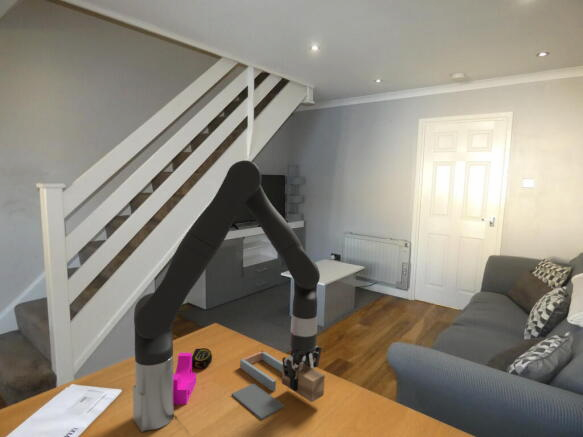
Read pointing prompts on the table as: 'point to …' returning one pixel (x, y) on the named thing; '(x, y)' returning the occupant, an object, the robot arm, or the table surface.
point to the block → (307, 383)
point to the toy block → (183, 379)
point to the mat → (258, 401)
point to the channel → (256, 373)
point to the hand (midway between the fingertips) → (301, 385)
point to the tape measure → (201, 358)
